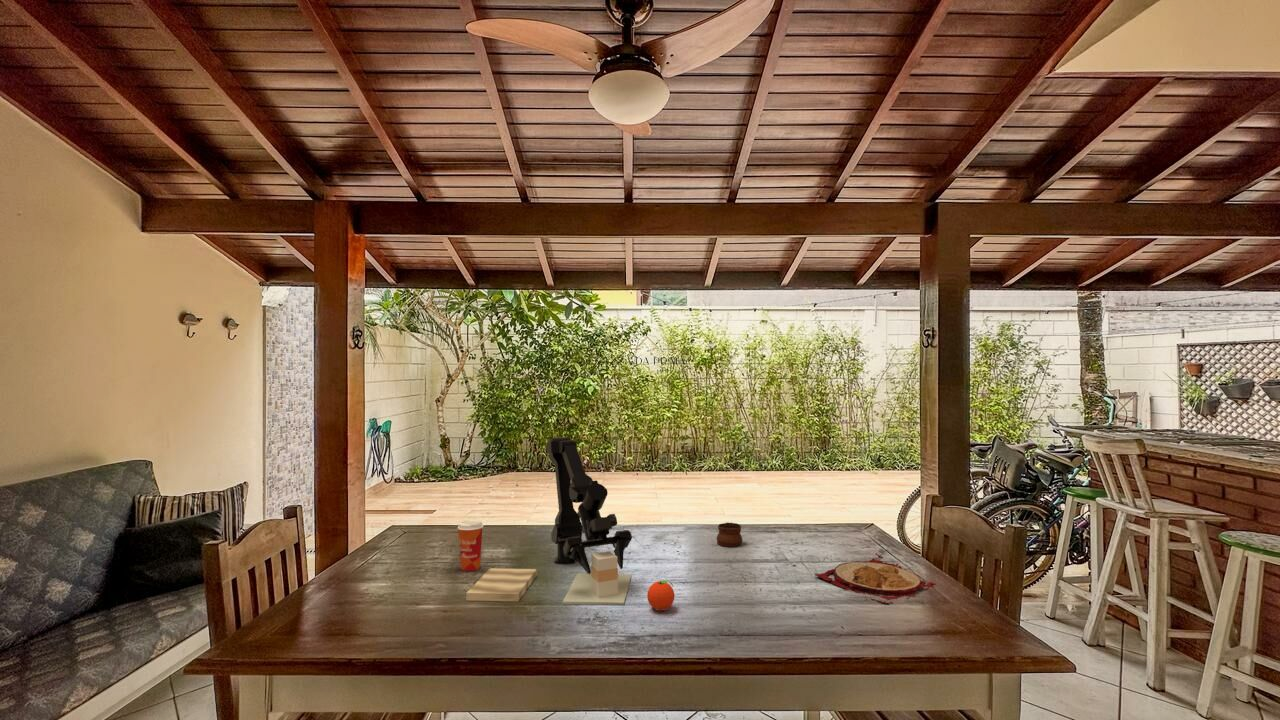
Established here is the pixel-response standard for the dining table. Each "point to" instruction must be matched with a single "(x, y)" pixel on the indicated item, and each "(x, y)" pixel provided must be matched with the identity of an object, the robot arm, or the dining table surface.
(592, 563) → the carton
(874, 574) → the plate with food
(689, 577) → the dining table surface
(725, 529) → the ceramic pot
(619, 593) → the mat
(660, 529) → the dining table surface
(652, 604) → the clementine
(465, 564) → the paper cup
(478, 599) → the board
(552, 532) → the robot arm
